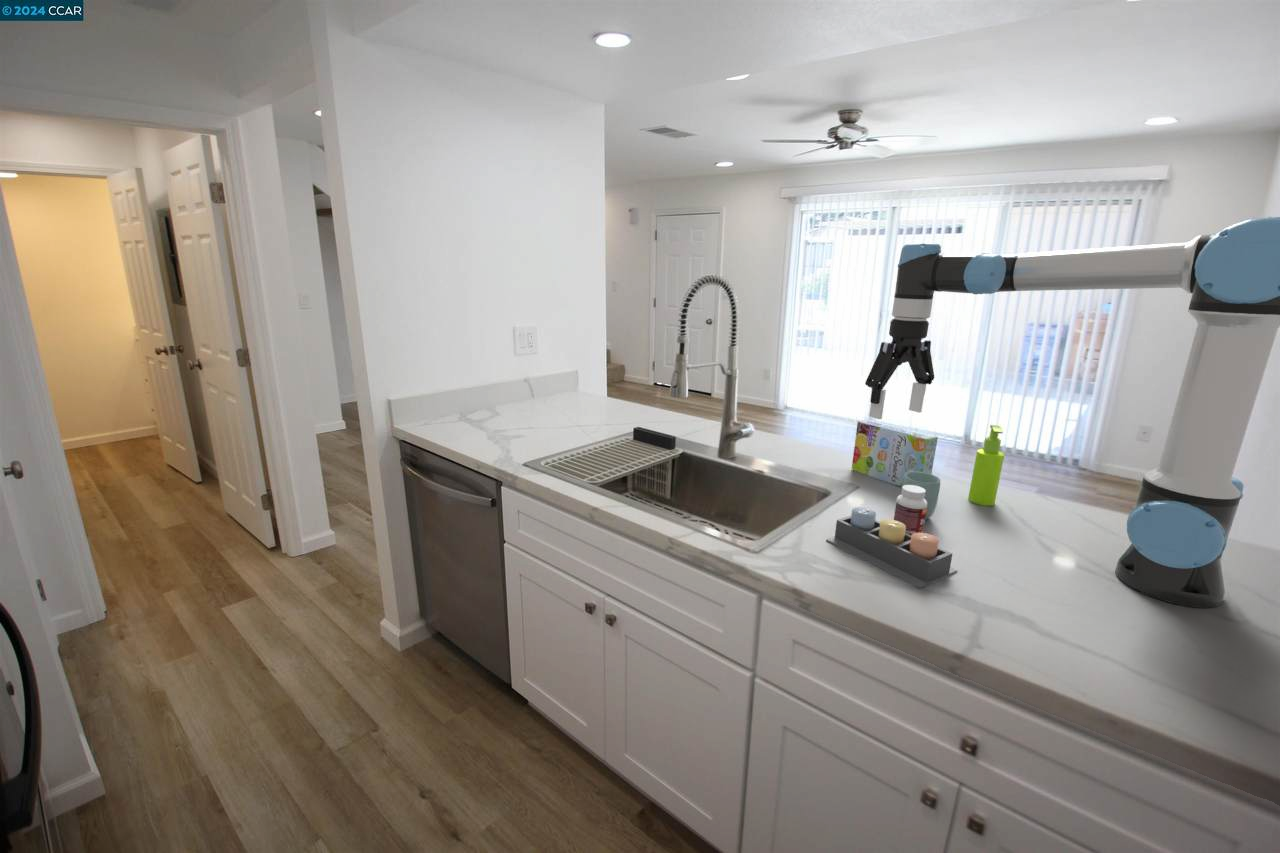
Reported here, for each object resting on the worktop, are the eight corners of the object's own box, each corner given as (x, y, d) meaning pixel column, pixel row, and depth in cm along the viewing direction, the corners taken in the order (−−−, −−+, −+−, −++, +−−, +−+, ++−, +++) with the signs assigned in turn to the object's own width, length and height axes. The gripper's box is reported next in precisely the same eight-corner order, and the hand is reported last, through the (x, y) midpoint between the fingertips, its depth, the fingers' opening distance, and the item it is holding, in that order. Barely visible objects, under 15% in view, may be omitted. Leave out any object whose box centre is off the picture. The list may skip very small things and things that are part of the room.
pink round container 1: (940, 561, 111) (944, 539, 110) (925, 567, 109) (929, 545, 107) (917, 551, 115) (921, 529, 114) (902, 557, 113) (906, 535, 111)
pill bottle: (924, 543, 124) (932, 495, 121) (893, 538, 126) (900, 492, 123) (919, 531, 130) (927, 485, 127) (890, 527, 131) (896, 482, 128)
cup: (938, 524, 133) (945, 484, 130) (902, 521, 134) (908, 481, 132) (929, 511, 140) (935, 472, 138) (895, 508, 142) (900, 470, 139)
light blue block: (878, 533, 123) (880, 512, 121) (863, 538, 120) (866, 517, 119) (859, 524, 126) (861, 504, 125) (844, 529, 124) (847, 509, 123)
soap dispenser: (970, 504, 145) (984, 428, 139) (966, 495, 151) (980, 421, 145) (997, 508, 142) (1012, 431, 137) (992, 498, 149) (1007, 424, 143)
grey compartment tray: (957, 572, 112) (960, 551, 111) (920, 588, 106) (923, 566, 105) (862, 528, 130) (864, 510, 129) (826, 540, 124) (828, 521, 123)
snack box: (930, 489, 154) (939, 436, 150) (918, 494, 151) (927, 439, 147) (861, 467, 171) (868, 418, 167) (849, 470, 168) (856, 420, 164)
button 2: (907, 546, 117) (911, 525, 116) (892, 552, 114) (896, 530, 113) (887, 537, 121) (890, 516, 119) (872, 542, 118) (875, 521, 117)
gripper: (930, 315, 132) (916, 405, 138) (855, 318, 120) (843, 416, 126) (961, 318, 126) (945, 412, 132) (886, 322, 114) (872, 425, 120)
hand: (895, 414), depth 129 cm, fingers open, 13 cm apart
